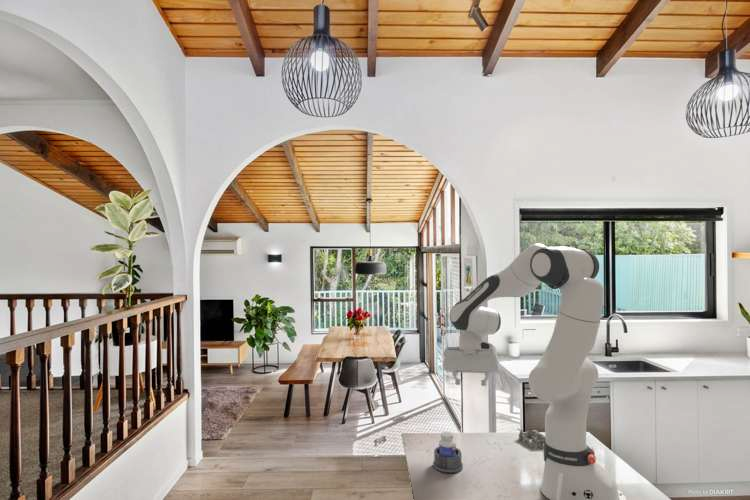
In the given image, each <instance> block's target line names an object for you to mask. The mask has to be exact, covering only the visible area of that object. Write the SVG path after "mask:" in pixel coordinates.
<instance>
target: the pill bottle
mask: <svg viewBox="0 0 750 500" xmlns="http://www.w3.org/2000/svg"><path fill="white" fill-rule="evenodd" d="M438 447H439V454H440V455H443V456H455V455H456V448H457V446H456V440H454V434H453V432H451V431H442V432H441V433H440V439H439V441H438Z"/></svg>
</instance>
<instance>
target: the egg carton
mask: <svg viewBox="0 0 750 500" xmlns="http://www.w3.org/2000/svg"><path fill="white" fill-rule="evenodd" d="M517 430H518V431H519V433H518V440H519V441H521V442H523V444H525V445H528V448H530V449H533V450H537V449H538V448H542V449H543V444H544V440H545V434H542V433H540V432H539V431H538V430H537V429H533V430H532V429H529V430H526V429H525V431H523V429H519V428H517ZM530 438H531V439H530Z"/></svg>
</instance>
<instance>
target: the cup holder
mask: <svg viewBox="0 0 750 500" xmlns="http://www.w3.org/2000/svg"><path fill="white" fill-rule="evenodd" d="M461 451H462V450H461V449H460V448H457V447H456V455H455V456H443V455H440V454H439V446H438V447H436V448H435V449H434V450H433V457H434V458H433V459H434V460H433V461H432V467H433V469H434V470H435V471H436V472H439V473H441V474H447V475H454V474H458V473H460V472H462V471H463V469H464V467H463V462H462V452H461Z"/></svg>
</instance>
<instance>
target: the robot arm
mask: <svg viewBox="0 0 750 500" xmlns="http://www.w3.org/2000/svg"><path fill="white" fill-rule="evenodd" d="M599 270H600V262H599V259H598V257H597V256H596V255H595V254H594V253H593V252H592V251H589V250H586V249H583V248H574V247H569V246H547V245H545V244H543V243H532V244H530V245H529V246H527V247H526V248H525V249H524V250H522V251H521V252H520V253H519V254H518V255H517V256H516V257H515V258H514V260H512V262H511V263H510V264H509V265H508V266H507V267H504V269H502V270H501V271H499V272H497V273H495V274H493V275H490V276H488V277H487V278H485V279H484V280H483V281H482V282H481V283H480V284H478V285H477V286H476V287H475V288H474V289H473V290H472V291H471V292H470V293H469V294H467V296H465V297H464V298H463V299H461V300H459V301H458V302H456V303H455V304H454V305H453V306H452V307H451V309H450V312H449V320H450V323H451V324H452V326H453V327H454V328H455V329H456V330H457V331H460V334H459V339H458V340H459V341H458V346H447V347H446V348H445V349H444V350H443V357H444V359H443V363H442V368H443V370H444V371H445V372H447V373H452V376H453V378H454V383H455V385H457V386H460V385H461V379H458V377H457V376H458V373H465V374H466V373H471V374H473V373H474V374H483V375H484V376H485V377H484V378H483V379H481V380H480V382H481V386H482V387H487V385H488V384H487V381H488V380H489V378H491V377H490V376H491V374H498V373H500V372H501V369H500V368H501V367H500V366H501V364H500V358H499V356H498V355H497V348H496V347H495V345H493V344H492V343H490V342H487V341H484V335H489V336H490V335H494V334H495V333H497V332H498V331H499V330H500V328H501V323H502V321H501V316H500V313H499V312H498V310H496V309H494V308H491V307H488V306H487V307H486V306H484V305H485V304H486V303H487V302H489V301H490V300H493V299H497V298H524V297H526V296H528V295H530V294H531V293H532V292H534V291H535V290H536V289H537V288H538V287H539V285H541V283H543V284H545V285H547V287H548V288H550V289H552V290H560V293H561V297H560V304H559V307H558V310H557V315H556V320H555V324H554V329H553V331H552V332H553V333H552V335H551V337H550V339H549V342H548V344H547V346H546V348H545V349H544V352H543V354H542V356H540V357H541V358H540V360H539V361H538V363H537V364H536V365H535V366H534V367H533V369H532V370H531V371H530V373H529V375H528V386H529V388H530V391H531V392H532V394H533V395H534V396H535V397H536V398H537V399H538V400H541V401H543V402H550V403H549V406H548V408H547V410H546V411H545V414H544V436H545V440H544V444H543V448H542V449H543V460H544V468H543V476H542V479H541V484H540V487H539V488H540V489H539V490H540V492H541V493H542V494H543V495H544V497H546V498H547V499H549V500H627V497H626V495H625V494H624V493H623V492H622V491H621V490H619V489H618V486H617V482H616V480H615V478H614V476H613V475H612V473H610V471H609V470H606V469H605V468H604V467H603V466H602V465H601V464H599V463H598V462H597V457H596V455H595V451H594V447H593V446H591V447H590V446H589V445H587V418H588V417H587V416H588V411H589V407H590V402H591V399H592V393H593V390H594V387H595V385H596V384H597V382H598V379H599V370H598V367H597V366H596V364H595V362H593V360H591V359H590V358H588V356H589V354H590V353H591V352H592V350H593V349H594V346H595V344H596V340H597V335H598V331H599V328H600V324H601V319H602V316H603V309H604V299H605V297H604V296H605V289H604V287H603V285H602V283H600V281H598V280H596V279H595V278H596V277H597V276H598V274H599V272H600V271H599Z"/></svg>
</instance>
